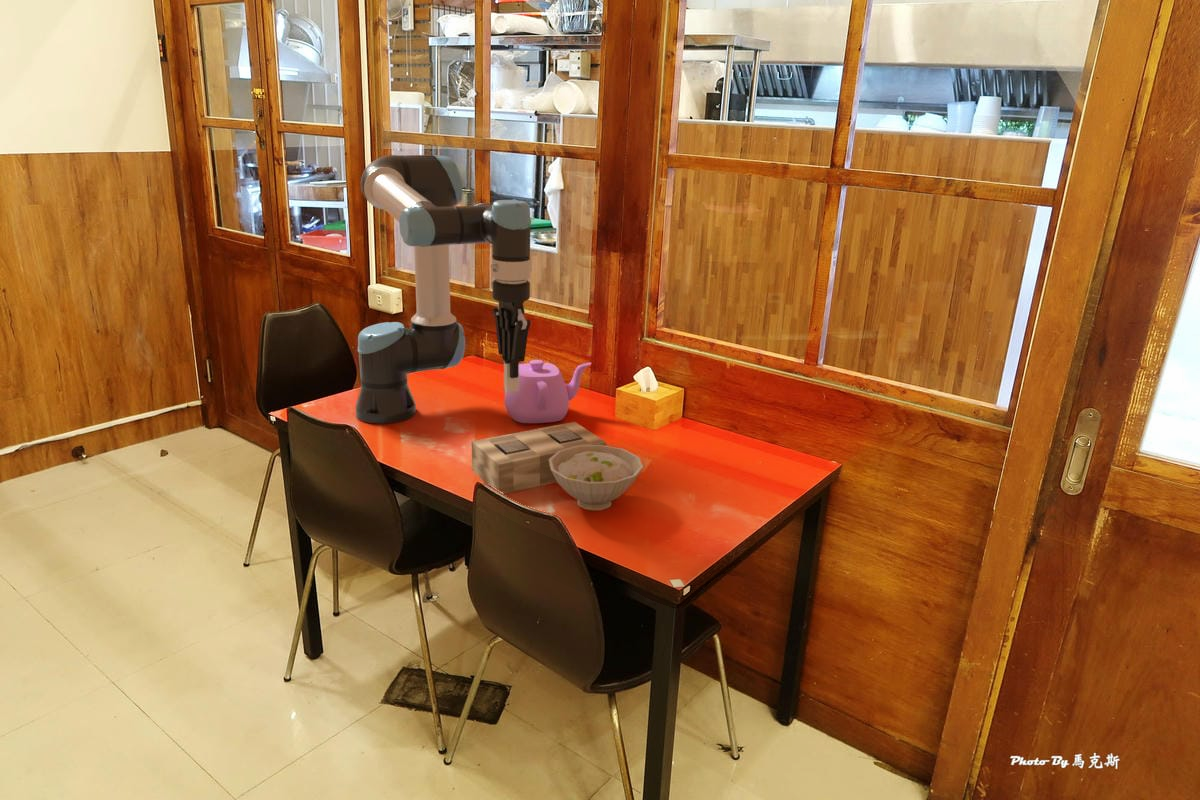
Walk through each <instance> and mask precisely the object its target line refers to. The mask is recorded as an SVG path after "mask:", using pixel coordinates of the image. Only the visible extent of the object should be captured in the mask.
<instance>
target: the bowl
mask: <svg viewBox="0 0 1200 800" xmlns="http://www.w3.org/2000/svg"><path fill="white" fill-rule="evenodd" d="M549 464H550V469H551V471H552V473H553V475H554V477H555V479H556V481H557V482H556V483H558V485H559V486H560V487H561V488H562V489H563V490H564V491H565V492H566V493H567V494H568V495H570V496H572V497H573V498H574V499H576V500H577V506H579V507H580V508H581V509H584V510H589V511H604V510H606V509H608V508H610V507H611V505H612V501H614V500H616V499H619V497H620V496H621V495H622V494H624V493H626V491H627V490H628V489H629V488H630V487H631V485H633V483H634V482H635V481H636V479H637V478H638V476H639V475H640V473H641V471H642V470H643V468H644V465H643V463H642V460H641V459H640V457H639V456H638V455H636V454H634V453H632V452H630V451H628V450H626V449H625V448H621V447H616V446H615V447H613V446H611V445H610V446H609V445H606V446H605V445H578V446H574V447H570V448H567V449H563V450H559V451H558V452H557V453H555V454H554V455H553V456H552V457H551V458H550V459H549Z"/></svg>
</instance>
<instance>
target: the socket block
mask: <svg viewBox="0 0 1200 800" xmlns="http://www.w3.org/2000/svg"><path fill="white" fill-rule="evenodd" d="M568 430H570V431H571V432H573V433H574V434H576V435H577V436H579V437H580V440H576V441H571V442H567V443H562V444H559V443H558V442H556V441H555V440H553V439H552V438H551V437H550V434H552V433H557V432H563V431H568ZM516 440H518V441H519V442H521V443H522V444H523V445H525V446H526V447H527V448H528V450H527V451H522V452H517V453H512V454H507V455H505V454H504V453H503V452H501V451H500V450H499V449H498V448H497V444H501V443H506V442H511V441H516ZM578 445H605V446H607V442H606V441H605V440H603V439H602V438H601V437H599V436H597V435H596V434H594V433H593V432H591V431H589V430H588V429H586V428H585V427H583V426H582V425H580V424H579V423H577V422H575V421H572V422H571V421H570V422H566V423H562V424H558V425H557V424H556V425H550V426H545V427H539V428H535V429H530V430H525V431H520V432H518V431H517V432H514V433H509V434H503V435H498V436H492V437H488V438H482V439H476V440H471V470H472V472H473V473H475V474H476V476H478V477H479V479H481V480H482V481H483V482H484V483H485V484H486V485H487V484H489V485H490V486H492V487H494V488H496V489H497V490H499V491H501V492H503V493H504V494H503V495H507V494H511V493H515V492H520V491H524V490H529V489H532V488H536V487H542V486H546V485H547V486H548V485H550V484H555V483H558V482H557V481H556V479H555V477H554V475H553V473H552V471H551V469H550V464H549V459H550V458H551V457H552V456H553V455H554V454H555V453H557V452H558V451H559V450H563V449H567V448H570V447H574V446H578Z"/></svg>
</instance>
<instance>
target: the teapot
mask: <svg viewBox="0 0 1200 800" xmlns="http://www.w3.org/2000/svg"><path fill="white" fill-rule="evenodd" d="M590 365H592V362H586V363H581V364H579V365H578V366H577V367H576V368H575V369H574V372H573V375H572V378H571V380H570V382H569V383H567V384H566V383H565V380H564V377H563V375H562V372H561V371H560V369H559V368H558V367H557V366H556V365H555V364H553V363H550V362H545V361H544V360H541V359H532V360H530V361H529V363H528V362H526V363H519V391H514V392H508V393H507V392H504V393H505V394H504V406H505V409H506V411H507V413H508V414H509V416H510V417H511V419H512V420H514V421H515V422H518V423H521V424H545V423H546V424H547V423H556V422H560V421H562V420H563V419H564V418H565V416H566V415H567V413H568V411H569V407H570V403H569V402H570V401H572V400H573V399H574V398H575V397H576V396H577V394H578V392H579V389H580V386H581V379H582V375H583V373H584V371H585V370H586V368H587V367H589V366H590Z"/></svg>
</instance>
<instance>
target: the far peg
mask: <svg viewBox="0 0 1200 800" xmlns="http://www.w3.org/2000/svg"><path fill="white" fill-rule="evenodd" d="M550 437H551V438H552V439H553V440H555V441H556V442H558V443H559V444H562V443H567V442H571V441H576V440H580V437H579V436H577V435H576V434H574V433H573V432H571V431H570V430H568V431H563V432H557V433H552V434H550Z"/></svg>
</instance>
